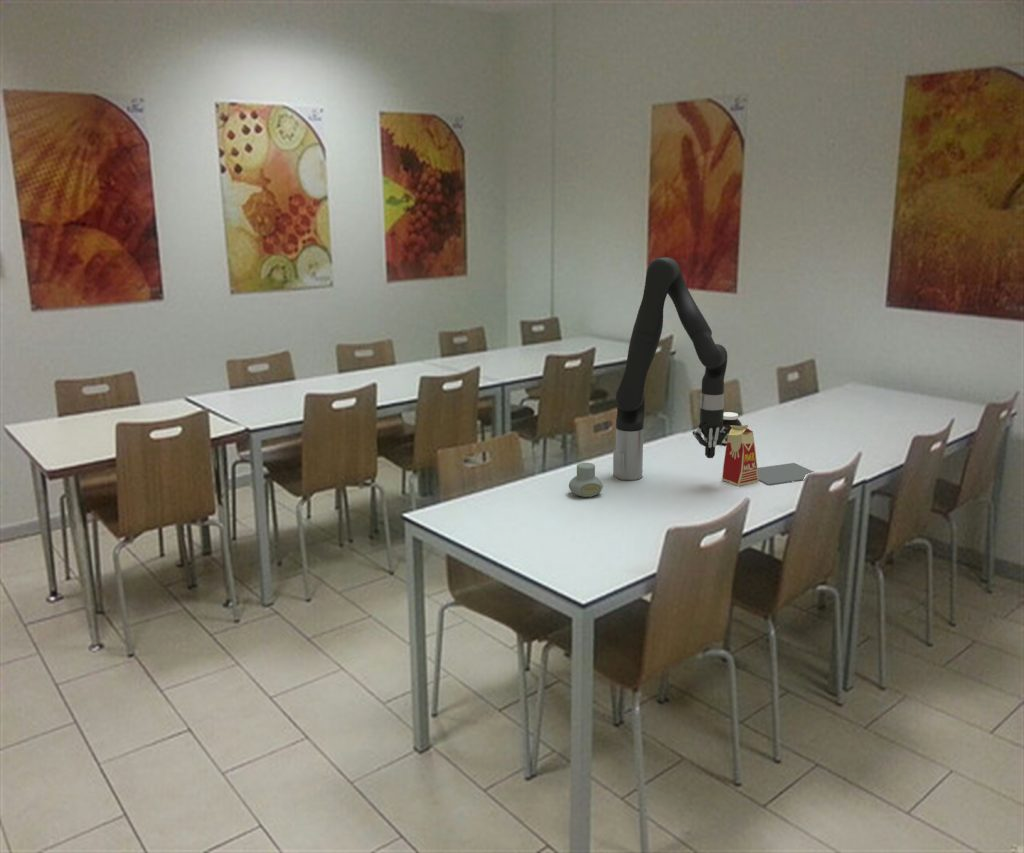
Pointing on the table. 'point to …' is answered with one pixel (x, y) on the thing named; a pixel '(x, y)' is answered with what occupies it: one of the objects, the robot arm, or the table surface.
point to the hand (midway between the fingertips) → (709, 457)
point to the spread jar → (730, 423)
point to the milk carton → (740, 457)
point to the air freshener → (585, 481)
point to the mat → (782, 473)
